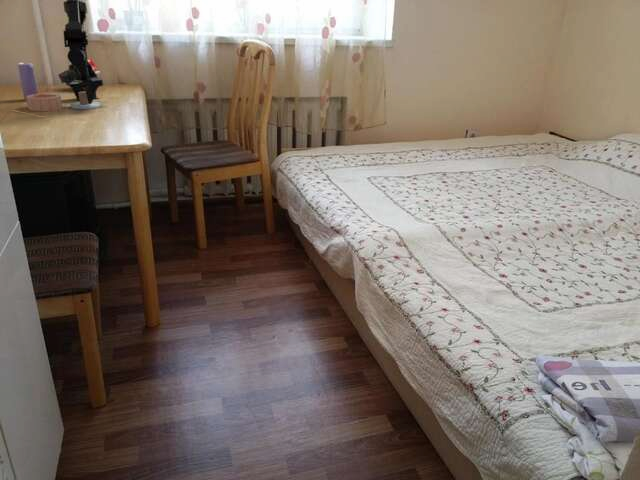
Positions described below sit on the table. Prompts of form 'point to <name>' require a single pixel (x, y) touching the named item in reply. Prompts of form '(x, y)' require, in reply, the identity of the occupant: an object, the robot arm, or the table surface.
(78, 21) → the robot arm
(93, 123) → the table surface
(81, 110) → the mat
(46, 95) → the bowl
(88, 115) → the table surface
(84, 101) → the lid
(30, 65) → the purple rectangular block
